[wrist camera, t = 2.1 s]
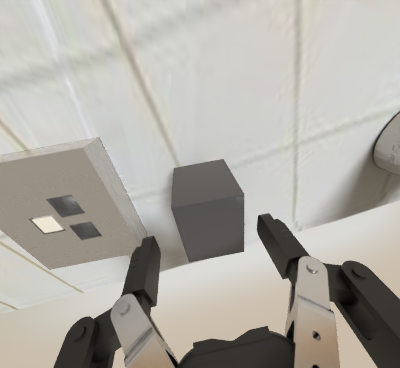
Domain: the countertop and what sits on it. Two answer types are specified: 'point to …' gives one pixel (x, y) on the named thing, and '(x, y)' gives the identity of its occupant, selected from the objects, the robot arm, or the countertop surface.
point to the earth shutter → (48, 223)
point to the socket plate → (67, 204)
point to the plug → (208, 210)
